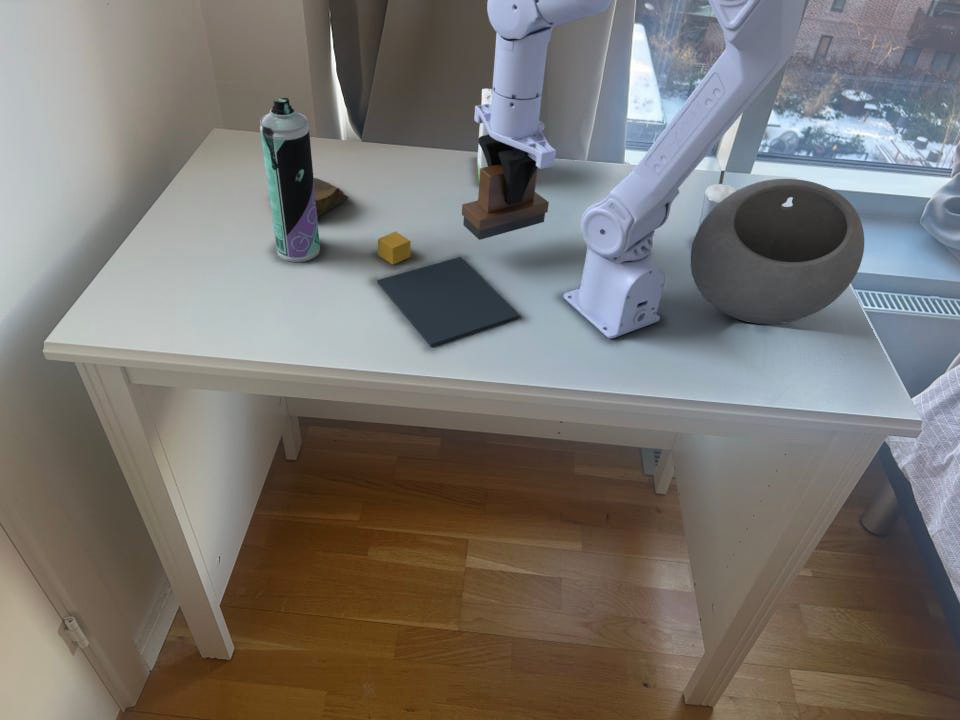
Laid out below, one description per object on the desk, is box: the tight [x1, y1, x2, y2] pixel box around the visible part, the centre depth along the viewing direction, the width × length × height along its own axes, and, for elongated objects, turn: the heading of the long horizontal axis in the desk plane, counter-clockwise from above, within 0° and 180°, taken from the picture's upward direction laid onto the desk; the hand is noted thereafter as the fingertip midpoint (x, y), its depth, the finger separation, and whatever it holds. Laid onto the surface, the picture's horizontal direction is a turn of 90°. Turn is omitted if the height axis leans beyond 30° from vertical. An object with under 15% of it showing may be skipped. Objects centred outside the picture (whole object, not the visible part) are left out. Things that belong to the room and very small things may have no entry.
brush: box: [461, 164, 550, 241], centre depth 94 cm, size 10×4×8 cm, turn 122°
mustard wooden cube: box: [377, 231, 411, 266], centre depth 96 cm, size 3×3×2 cm
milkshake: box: [697, 170, 739, 230], centre depth 101 cm, size 4×5×10 cm
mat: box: [376, 256, 520, 348], centre depth 90 cm, size 14×12×1 cm
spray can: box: [259, 97, 321, 263], centre depth 90 cm, size 6×6×20 cm
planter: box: [690, 178, 865, 325], centre depth 85 cm, size 18×7×19 cm, turn 78°
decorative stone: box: [313, 177, 349, 218], centre depth 105 cm, size 10×9×4 cm
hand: (507, 196), depth 94 cm, fingers closed on brush, 2 cm apart
